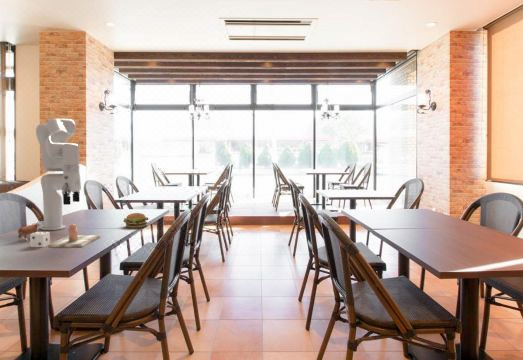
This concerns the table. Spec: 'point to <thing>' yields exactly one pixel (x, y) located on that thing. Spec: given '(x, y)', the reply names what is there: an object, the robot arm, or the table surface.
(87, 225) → the table surface
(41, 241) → the die
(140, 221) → the food
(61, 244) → the game board
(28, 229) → the bull figurine
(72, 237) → the peach rounded cylinder
